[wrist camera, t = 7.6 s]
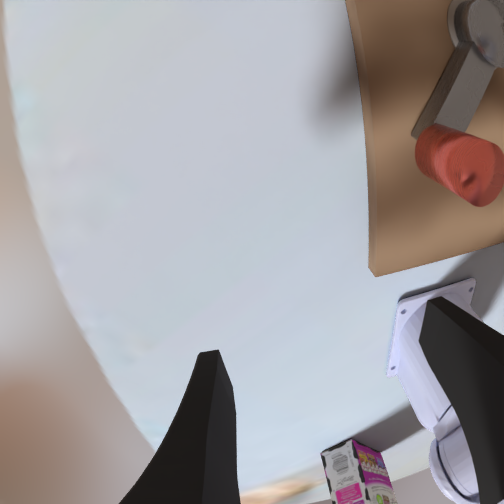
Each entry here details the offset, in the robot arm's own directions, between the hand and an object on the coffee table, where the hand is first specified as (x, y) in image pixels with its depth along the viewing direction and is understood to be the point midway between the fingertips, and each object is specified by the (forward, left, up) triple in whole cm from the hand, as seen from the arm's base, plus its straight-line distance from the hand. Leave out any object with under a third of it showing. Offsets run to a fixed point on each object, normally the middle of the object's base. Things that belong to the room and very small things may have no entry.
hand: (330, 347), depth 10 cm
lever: (+10, -13, -8) cm, 19 cm away
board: (+7, -20, -10) cm, 23 cm away
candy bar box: (-36, -6, -10) cm, 38 cm away
